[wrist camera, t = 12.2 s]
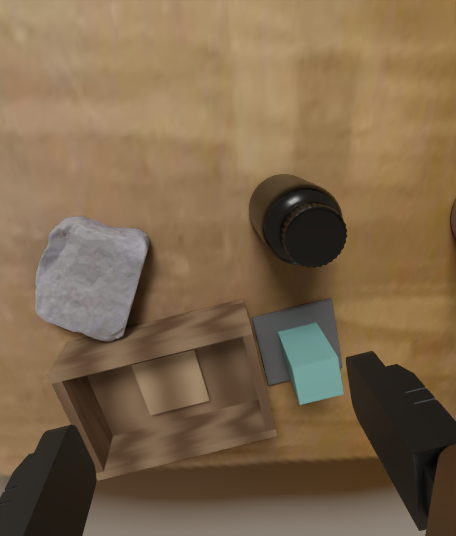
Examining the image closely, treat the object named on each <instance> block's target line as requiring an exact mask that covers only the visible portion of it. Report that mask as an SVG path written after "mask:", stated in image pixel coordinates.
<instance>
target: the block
mask: <svg viewBox="0 0 456 536" xmlns="http://www.w3.org/2000/svg"><path fill="white" fill-rule="evenodd" d="M278 336H279V340H280V345H281V349H282V354H283V359H284V363H285V367H286V369H287V372H288V375H289V377H290V380H291V383H292V385H293V388H294V391H295V393H296V396H297V399H298V401H299V404H300V405H302V404H306V403H310V402H314V401H318V400H322V399H326V398H330V397H334V396H339V395H343V394H344V393H343V387H342V380H341V374H340V368H339V361H338V356H337V355H336V353H335V352H334V350H333V348H332V347H331V345H330V343H329V342H328V340H327V339H326V337H325V335H324V334H323V332H322V330H321V329H320V327H319V326H318V324H317V322H316V323H312V324H308V325H304V326H300V327H296V328H292V329H288V330H284V331H280V332H278Z"/></svg>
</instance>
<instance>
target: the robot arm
mask: <svg viewBox="0 0 456 536" xmlns="http://www.w3.org/2000/svg"><path fill="white" fill-rule="evenodd" d="M451 225H452V231H453V233H454V236H455V238H456V201H455V203H454V206H453V210H452V215H451ZM346 366H347V373H348V379H349V386H350V393H351V399H352V404H353V408H354V411H355V414H356V416H357V419H358V421H359V423H360V425H361V426H362V428H363V430H364V432H365V434H366V435H367V437H368V439H369V441H370V443H371V445H372V446H373V448H374V450H375V452H376V454H377V455H378V457H379V459H380V461H381V463H382V464H383V466H384V468H385V470H386V471H387V473H388V475H389V477H390V479H391V481H392V483H393V484H394V486H395V488H396V490H397V492H398V493H399V495H400V497H401V499H402V501H403V502H404V504H405V506H406V508H407V510H408V512H409V513H410V515H411V517H412V519H413V520H414V522H415V524H416V526H417V528H418V530H419V531H421V530H425V529H426V534H425V536H456V421H455V420H454V419H453V418H452V416H451V415H450V414H449V413H448V412H447V411H446V410H445V408H444V407H443V406H442V405H441V404H440V403H439V402H438V401H437V400H435V398H434V396H433V395H432V394H431V393H430V391H429V390H428V389H426V388H425V386H424V385H423V383H422V382H421V381H420V380H419V379H418V378H417V377H416V375H415V374H414V373H412V372H410V371H409V370H407V369H405V368H403V367H401V366H399V365H398V364H395V365H391V366H386V367H385V366H384V364H383V363H382V362H381V360H380V359H379V358H378V357H377V355H376V354H375V353H374V352H373V351H370V352H366V353H362V354H358V355H354V356H350V357H347V358H346ZM95 486H96V469H95V465H94V462H93V460H92V458H91V456H90V454H89V452H88V450H87V447H86V445H85V443H84V441H83V439H82V437H81V435H80V433H79V431H78V429H77V427H76V426H75V425H68V426H64V427H60V428H56V429H52V430H48V431H46V432H45V433H44V434H43V435H42V437H41V439H40V442H39V444H38V446H37V448H36V450H35V452H34V453H32V454H29V455H28V456H27V457H26V458H25V459H24V460H23V461H22V463H21V464H20V465H19V466H18V467H17V468H16V469H15V471H14V472H13V474H12V476H11V478H10V480H9V482H8V484H7V486H6V488H5V492H3V493H2V495H1V497H0V536H82V535H83V531H84V527H85V523H86V520H87V516H88V512H89V509H90V505H91V501H92V497H93V493H94V490H95Z"/></svg>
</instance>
